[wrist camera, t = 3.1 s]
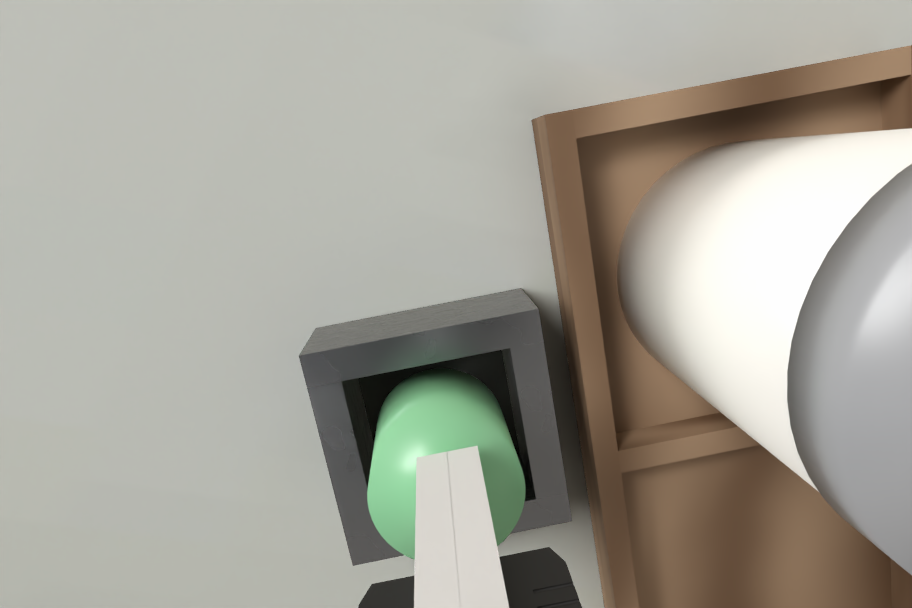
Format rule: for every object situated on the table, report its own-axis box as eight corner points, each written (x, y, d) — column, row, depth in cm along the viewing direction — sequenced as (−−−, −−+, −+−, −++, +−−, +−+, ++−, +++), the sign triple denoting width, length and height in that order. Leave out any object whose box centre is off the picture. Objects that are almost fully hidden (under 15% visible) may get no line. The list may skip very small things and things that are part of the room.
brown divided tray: (617, 692, 24) (635, 738, 22) (531, 119, 19) (544, 115, 17) (896, 633, 25) (937, 673, 23) (885, 52, 20) (937, 40, 18)
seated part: (629, 406, 21) (854, 660, 10) (598, 164, 19) (835, 162, 8) (861, 359, 21) (1323, 561, 10) (853, 115, 19) (1409, 52, 8)
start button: (391, 496, 20) (385, 578, 16) (364, 381, 19) (351, 438, 15) (512, 472, 20) (536, 547, 16) (491, 357, 19) (511, 407, 15)
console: (361, 512, 22) (352, 565, 19) (315, 328, 20) (298, 355, 17) (551, 473, 22) (571, 520, 19) (521, 288, 20) (538, 308, 18)
